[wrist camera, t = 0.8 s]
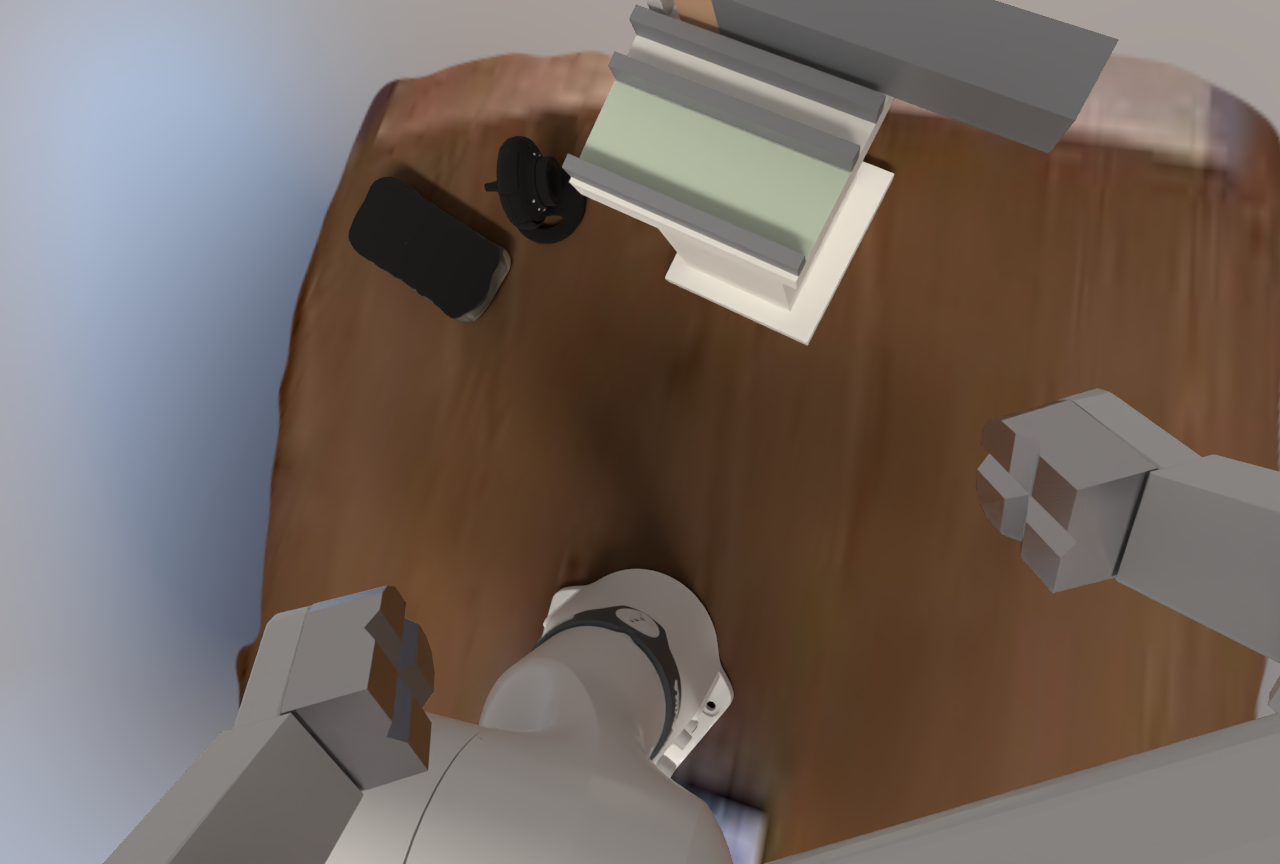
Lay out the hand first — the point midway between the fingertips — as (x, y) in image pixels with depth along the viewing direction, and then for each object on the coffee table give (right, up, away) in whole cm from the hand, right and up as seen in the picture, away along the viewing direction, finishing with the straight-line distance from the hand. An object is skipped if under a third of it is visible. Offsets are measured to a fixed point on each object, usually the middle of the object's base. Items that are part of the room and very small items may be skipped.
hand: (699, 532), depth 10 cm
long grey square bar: (+11, +21, +26) cm, 35 cm away
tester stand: (+11, +19, +53) cm, 57 cm away
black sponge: (-21, +19, +62) cm, 68 cm away
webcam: (-9, +23, +58) cm, 64 cm away
